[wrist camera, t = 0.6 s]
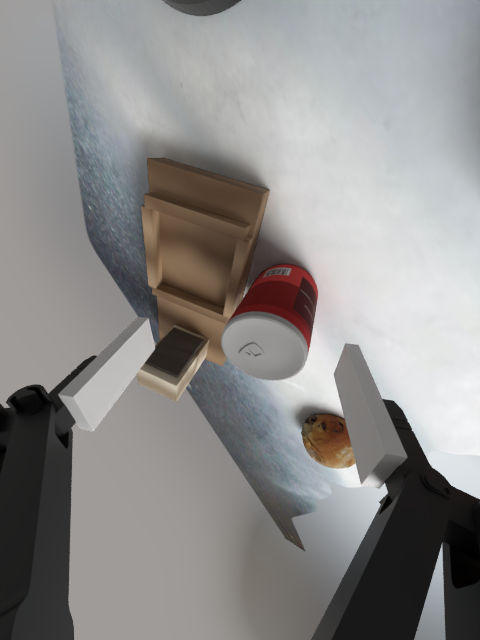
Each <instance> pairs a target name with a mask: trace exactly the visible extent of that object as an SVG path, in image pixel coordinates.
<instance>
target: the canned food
mask: <svg viewBox="0 0 480 640" xmlns="http://www.w3.org/2000/svg"><path fill="white" fill-rule="evenodd" d="M317 298H318V290H317V286H316V284H315V282H314V280H313V278H312V277H311V275H310V274H309V273H308V272H307V271H305V270H304V269H302V268H300V267H298V266H295V265H291V264H279V265H275V266H273V267H270V268H268V269H266V270H265V271H263V272H262V273H261V274H260V275H259V276H258V277H257V279H256V280H255V282H254V283H253V285H252V286H251V288H250V289H249V291H248V292H247V294H246V295H245V297H244V298H243V300H242V301H241V303H240V304H239V306H238V307H237V309H236V310H235V312H234V313H233V315H232V316H231V318H230V319H229V321H228V323H227V324H226V326H225V328H224V330H223V332H222V336H221V346H222V349H223V352H224V354H225V356H226V357H227V358H228V360H229V361H230V362H231V363H232V364H233V365H234V366H235V367H236V368H238V369H239V370H241V371H242V372H244V373H246V374H248V375H250V376H253V377H255V378H259V379H263V380H284V379H287V378H291V377H292V376H294V375H296V374H297V373H299V372H300V371H301V370H302V368H303V367H304V365H305V362H306V360H307V356H308V352H309V347H310V342H311V335H312V329H313V323H314V317H315V311H316V305H317Z"/></svg>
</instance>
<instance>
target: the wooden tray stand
mask: <svg viewBox="0 0 480 640" xmlns="http://www.w3.org/2000/svg"><path fill="white" fill-rule="evenodd" d="M147 164H148V179H149V193H148V194H144V201H145V205H142V206H141V212H142V222H143V233H144V243H145V253H146V264H147V274H148V285H149V286H151V287H152V294H153V295H156V296H157V307H158V321H159V336H160V339H161V340H160V341H159V342H158V343H157V344H156V345H155V350H154V351H153V352H152V354H151V355H150V356H149V358H148V359H147V361H146V362H145V363H144V365H143V366H142V367H141V369H140V370H139V371H138V373H137V379H138V383H139V384H140V385H142V386H144V387H146V388H148V389H151V390H153V391H155V392H157V393H159V394H161V395H163V396H165V397H167V398H169V399H171V400H174V401H177V400H178V399H179V397H180V396H181V394H182V393H183V391H184V390H185V388H186V387H187V385H188V383H189V382H190V380H191V379H192V377H193V376H194V374H195V373H196V371H197V370H198V368H199V367H200V365H201V364H202V362H203V360H204V359H207V360H209V361H211V362H214V363H216V364H218V365H221V366H223V364H224V362H225V361H226V359H227V357H226V356H225V354H224V352H223V349H222V346H221V336H222V332H223V330H224V328H225V326H226V324H227V323H228V321H229V319H230V318H231V316H232V315H233V313H234V312H235V310H236V309H237V307H238V306H239V304H240V303H241V301H242V299H243V295H244V291H245V287H246V283H247V279H248V275H249V271H250V267H251V263H252V259H253V255H254V251H255V247H256V243H257V239H258V235H259V231H260V227H261V223H262V219H263V215H264V211H265V207H266V203H267V199H268V195H269V191H270V190H267V189H264V188H261V187H257V186H254V185H251V184H248V183H244V182H241V181H238V180H234V179H231V178H228V177H225V176H221V175H218V174H215V173H212V172H208V171H205V170H202V169H198V168H195V167H192V166H189V165H185V164H182V163H179V162H176V161H172V160H169V159H166V158H148V159H147Z"/></svg>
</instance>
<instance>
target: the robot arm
mask: <svg viewBox="0 0 480 640" xmlns="http://www.w3.org/2000/svg"><path fill="white" fill-rule="evenodd" d="M163 1H164V2H165V3H166V4H168V5H169V6H171V7H172V8H174V9H176V10H178V11H180V12H183V13H186V14H189V15H195V16H207V15H213V14H217V13H220V12H222V11H224V10H227V9H228V8H230V7H232V6H234V5H235V4H236V3H238V2H239V1H241V0H163ZM154 350H155V345H154V341H153V336H152V332H151V328H150V323H149V319H148V318H142V317H138V318H137V319H136V320H135V321H134V322H132V323H131V324H130V325H129V326H128V327H127V328H126V329H125V330H124V331H123V332H122V333H121V334H120V335H119V336H118V337H117V338H116V339H115V340H114V341H113V342H112V343H111V344H110V345H109V346H108V347H107V348H106V349H104V350H103V351H102V352H101V353H100V354H99V355H98V356H92V357H90V358H88V359H86V360H85V361H83V362H82V363H81V364H80V365H79V366H78V367H77V369H75V370H74V371H73V372H71V374H70V375H68V376H67V377H66V378H65V379H64V380H63V381H62V382H61V383H59V384H58V385H57V386H56V387H55V388H54V389H53V390H52V391H51V392H50V393H49V394H48V393H47V392H46V390H45V389H44V387H43V386H41V385H30V386H26V387H24V388H22V389H20V390H18V391H16V392H15V393H14V394H12V395H11V396H10V397H9V398H8V400H7V401H6V403H7V404H8V405H9V406H10V408H4V407H3V406H2V405H1V404H0V640H74V626H73V620H72V616H71V614H70V611H69V605H68V592H69V588H68V587H69V553H70V551H69V550H70V515H71V513H70V512H71V477H72V438H73V432H72V429H71V427H72V426H73V425H74V424H75V423H76V424H77V425H78V427H79V428H80V429H83V430H88V431H92V432H93V431H94V430H95V429H96V427H97V426H98V425H99V423H100V422H101V421H102V419H103V418H104V417H105V415H106V414H107V413H108V411H109V410H110V409H111V407H112V406H113V405H114V403H115V402H116V401H117V399H118V398H119V397H120V395H121V394H122V393H123V391H124V390H125V389H126V387H127V386H128V385H129V383H130V382H131V381H132V379H133V378H134V377H135V375H136V374H137V373H138V371H139V370H140V369H141V367H142V366H143V365H144V363H145V362H146V361H147V359H148V358H149V356H150V355H151V354H152V352H153V351H154ZM334 377H335V381H336V385H337V389H338V393H339V397H340V401H341V405H342V410H343V414H344V418H345V422H346V426H347V430H348V434H349V438H350V442H351V446H352V450H353V454H354V458H355V462H356V466H357V470H358V474H359V478H360V482H361V485H365V486H370V487H375V488H380V487H381V486H382V485H383V484H384V483H385V484H386V487H387V490H388V494H387V495H386V496H385V497H384V498H383V499H382V500H381V501H380V502H379V503H380V504H381V506H380V508H379V510H378V512H377V513H376V515H375V517H374V519H373V521H372V523H371V525H370V527H369V529H368V531H367V533H366V535H365V537H364V539H363V541H362V542H361V544H360V546H359V548H358V550H357V552H356V554H355V556H354V558H353V560H352V562H351V564H350V566H349V568H348V570H347V572H346V574H345V575H344V577H343V579H342V581H341V583H340V585H339V587H338V589H337V591H336V593H335V595H334V597H333V599H332V600H331V603H330V604H329V606H328V608H327V610H326V612H325V614H324V616H323V618H322V620H321V622H320V624H319V626H318V627H317V629H316V631H315V633H314V635H313V637H312V639H311V640H414V638H415V634H416V631H417V627H418V623H419V620H420V617H421V613H422V610H423V607H424V603H425V600H426V596H427V593H428V589H429V586H430V583H431V579H432V575H433V572H434V569H435V565H436V562H437V559H438V555H439V552H440V548H441V545H442V544H443V545H442V546H443V571H444V572H443V575H444V601H445V602H444V604H445V631H446V640H480V499H478V498H475V497H473V496H471V495H469V494H467V493H465V492H463V491H461V490H458V489H456V488H455V487H453V486H451V485H450V484H449V482H448V481H447V480H446V478H445V477H444V476H442V475H441V474H440V473H439V472H438V471H436V470H435V469H433V468H432V467H431V466H430V464H429V462H428V460H427V458H426V456H425V454H424V452H423V450H422V448H421V446H420V444H419V442H418V440H417V438H416V436H415V434H414V432H413V431H412V428H411V426H410V424H409V423H408V422H407V421H408V420H407V418H406V416H405V414H404V412H403V410H402V409H401V408H400V407H399V406H398V405H397V404H396V403H395V402H394V401H392V400H385V399H382V398H381V395H380V393H379V391H378V389H377V386H376V384H375V382H374V379H373V377H372V375H371V373H370V370H369V368H368V366H367V363H366V361H365V359H364V357H363V354H362V352H361V350H360V347H359V345H354V344H345V346H344V349H343V351H342V354H341V357H340V359H339V362H338V365H337V367H336V370H335V372H334Z"/></svg>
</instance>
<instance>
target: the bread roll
mask: <svg viewBox="0 0 480 640" xmlns="http://www.w3.org/2000/svg"><path fill="white" fill-rule="evenodd" d="M301 434H302V437H303V443H304V446H305V448H306V450H307V452H308V454H309V455H310V456H311V457H312V458H313V459H314V460H315V461H317V462H318V463H320V464H322V465H324V466H326V467H329V468H348V467H350V466H352V465H353V464H355V463H356V462H355V458H354V454H353V450H352V446H351V442H350V438H349V434H348V430H347V426H346V422H345V420H344V419H342V418H340V417H337V416H334V415H329V414H319V415H318V414H316V415H312V416H310V417H309V418H308V419H306V421H305V423H304V426H303V428H302V432H301Z"/></svg>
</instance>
